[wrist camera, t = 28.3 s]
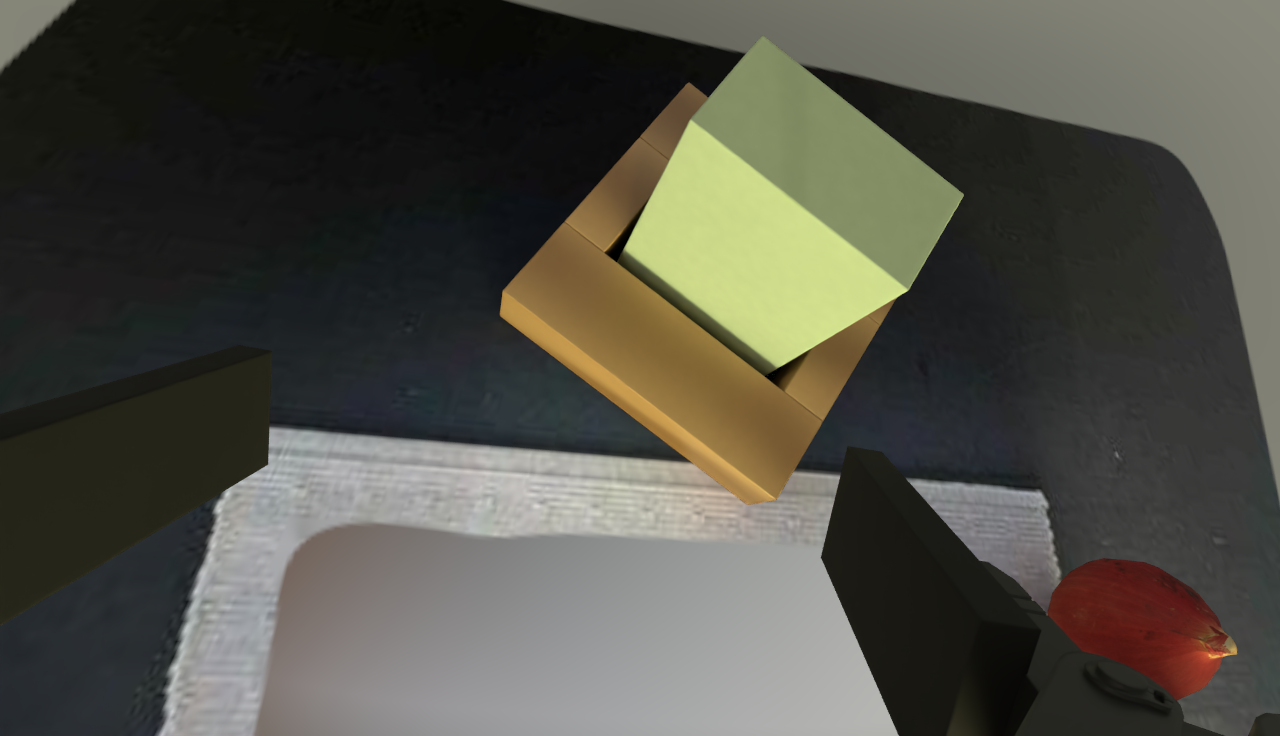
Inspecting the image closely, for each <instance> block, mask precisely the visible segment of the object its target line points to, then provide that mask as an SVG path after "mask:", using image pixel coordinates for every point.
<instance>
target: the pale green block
mask: <svg viewBox="0 0 1280 736" xmlns="http://www.w3.org/2000/svg"><path fill="white" fill-rule="evenodd" d="M963 196H964V195H963V193H961V192H960V191H959V190H958V189H956V188H955V187H954V186H953V185H951V184H950V183H949V182H948V181H946V180H945V179H944V178H942V177H941V176H940V175H939V174H937V173H936V172H935V171H934V170H932V169H931V168H930V167H929V166H927V165H926V164H925V163H924V162H922V161H921V160H920V159H919V158H917V157H916V156H915V155H913V154H912V153H911V152H910V151H908V150H907V149H906V148H905V147H903V146H902V145H901V144H900V143H898V142H897V141H896V140H895V139H893V138H892V137H891V136H889V135H888V134H887V133H886V132H884V131H883V130H882V129H881V128H879V127H878V126H877V125H876V124H874V123H873V122H872V121H871V120H869V119H868V118H867V117H865V116H864V115H863V114H862V113H860V112H859V111H858V110H857V109H855V108H854V107H853V106H852V105H850V104H849V103H848V102H847V101H845V100H844V99H843V98H841V97H840V96H839V95H838V94H836V93H835V92H834V91H833V90H831V89H830V88H829V87H828V86H826V85H825V84H824V83H823V82H821V81H820V80H819V79H818V78H816V77H815V76H814V75H812V74H811V73H810V72H809V71H807V70H806V69H805V68H804V67H802V66H801V65H800V64H799V63H797V62H796V61H795V60H794V59H792V58H791V57H790V56H788V55H787V54H786V53H785V52H783V51H782V50H781V49H780V48H778V47H777V46H776V45H775V44H773V43H772V42H771V41H770V40H768V39H767V38H766V37H764V36H761V37H760V38H759V39H758V40H757V42H756V43H755V44H754V45H753V46H752V47H751V49H750V50H749V51H748V52H747V53H746V54H745V56H744V57H743V58H742V59H741V60H740V61H739V63H738V64H737V65H736V66H735V67H734V68H733V70H732V71H731V72H730V73H729V74H728V75H727V77H726V78H725V79H724V80H723V81H722V82H721V84H720V85H719V86H718V87H717V88H716V90H715V91H714V92H713V93H712V94H711V95H710V97H709V98H708V99H707V100H706V101H705V102H704V104H703V105H702V106H701V107H700V108H699V109H698V111H697V112H696V113H695V114H694V115H693V116H692V118H691V119H690V120H689V122H688V124H687V126H686V128H685V130H684V132H683V134H682V136H681V138H680V140H679V142H678V144H677V146H676V148H675V150H674V151H673V153H672V155H671V157H670V159H669V161H668V163H667V165H666V167H665V169H664V171H663V173H662V175H661V177H660V179H659V181H658V183H657V185H656V187H655V189H654V191H653V193H652V195H651V196H650V198H649V200H648V202H647V204H646V206H645V208H644V210H643V212H642V214H641V216H640V218H639V220H638V222H637V224H636V226H635V228H634V230H633V232H632V234H631V236H630V238H629V240H628V241H627V243H626V245H625V247H624V249H623V251H622V253H621V255H620V257H619V259H618V261H617V263H618V264H619V265H621V266H622V267H623V268H625V269H626V270H627V271H628V272H630V273H631V274H632V275H634V276H635V277H636V278H637V279H639V280H640V281H641V282H643V283H644V284H645V285H647V286H648V287H649V288H650V289H652V290H653V291H654V292H656V293H657V294H658V295H659V296H661V297H662V298H663V299H665V300H666V301H667V302H669V303H670V304H671V305H672V306H674V307H675V308H676V309H678V310H679V311H680V312H681V313H683V314H684V315H685V316H687V317H688V318H689V319H691V320H692V321H693V322H694V323H696V324H697V325H698V326H700V327H701V328H702V329H703V330H705V331H706V332H707V333H709V334H710V335H711V336H713V337H714V338H715V339H716V340H718V341H719V342H720V343H722V344H723V345H724V346H725V347H727V348H728V349H729V350H731V351H732V352H733V353H735V354H736V355H737V356H738V357H740V358H741V359H742V360H744V361H745V362H746V363H747V364H749V365H750V366H751V367H753V368H754V369H755V370H757V371H758V372H759V373H760V374H762V375H763V376H766V375H767V374H769V373H771V372H772V371H774V370H776V369H777V368H779V367H781V366H782V365H784V364H786V363H787V362H789V361H791V360H792V359H794V358H796V357H798V356H799V355H801V354H803V353H804V352H806V351H808V350H809V349H811V348H813V347H814V346H816V345H818V344H819V343H821V342H823V341H824V340H826V339H828V338H829V337H831V336H833V335H834V334H836V333H838V332H839V331H841V330H843V329H845V328H846V327H848V326H850V325H851V324H853V323H855V322H856V321H858V320H860V319H861V318H863V317H865V316H866V315H868V314H870V313H871V312H873V311H875V310H876V309H878V308H880V307H881V306H883V305H885V304H886V303H888V302H890V301H892V300H893V299H895V298H897V297H898V296H900V295H902V294H903V293H905V292H907V291H908V290H909V288H910V287H911V285H912V283H913V282H914V280H915V278H916V276H917V275H918V273H919V271H920V270H921V268H922V266H923V264H924V263H925V261H926V259H927V258H928V256H929V254H930V252H931V251H932V249H933V247H934V246H935V244H936V242H937V241H938V239H939V237H940V235H941V234H942V232H943V230H944V229H945V227H946V225H947V223H948V222H949V220H950V218H951V217H952V215H953V213H954V211H955V210H956V208H957V206H958V205H959V203H960V201H961V199H962V198H963Z"/></svg>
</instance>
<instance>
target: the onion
mask: <svg viewBox="0 0 1280 736" xmlns="http://www.w3.org/2000/svg"><path fill="white" fill-rule="evenodd" d="M1048 616H1049V617H1050V618H1051V619H1052V620H1053V621H1054V622H1055V623H1056V624H1057V625H1058V626H1059V627H1060V628H1061V629H1062V630H1063V631H1064V632H1065V633H1066V634H1067V636H1068V637H1069V638H1070V639H1071V640H1072V641H1073V642H1074V643H1075V644H1076V645H1077V646H1078V647H1079V648H1080V649H1081V650H1082V651H1084V652H1088V653H1093V654H1097V655H1101V656H1105V657H1107V658H1110V659H1112V660H1115V661H1117V662H1120V663H1123V664H1125V665H1127V666H1129V667H1131V668H1133V669H1135V670H1136V671H1138V672H1140V673H1142V674H1144V675H1146V676H1148V677H1149V678H1151V679H1152V680H1153V681H1155V682H1156V683H1157V684H1159V685H1160V686H1161V687H1163V688H1164V689H1166V690H1167V691H1168V692H1169V693H1170V694H1171V695H1172V696H1173V697H1174V699H1175V700H1176V701H1177V700H1179V699H1181V698H1183V697H1185V696H1187V695H1190V694H1192V693H1194V692H1197V691H1199V690H1201V689H1202V688H1203V687H1205V686H1206V685H1207V684H1208V682H1209V681H1210V680H1211V678H1212V677H1213V676H1214V674H1215V673H1216V671H1217V670H1218V668H1219V667H1220V664H1221V660H1222V657H1224V656H1227V655H1232V654H1237V648H1236V645H1235V643H1234V641H1233V639H1232V638H1231V637H1230V636H1229V635H1228V634H1226V633H1225V632H1224V631H1223V629H1222V628H1221V625H1220V622H1219V620H1218V618H1217V616H1216V615H1215V614H1214V613H1213V611H1212V610H1211V609H1210V608H1209V606H1208V605H1207V604H1206V603H1205V602H1204V600H1203V599H1202V598H1201V597H1200V595H1199V594H1198V593H1196V592H1195V591H1194V590H1193V589H1192V588H1191V587H1189V586H1187V585H1186V584H1184V583H1183V582H1181V581H1179V580H1178V579H1176V578H1174V577H1173V576H1171V575H1170V574H1168V573H1166V572H1165V571H1163V570H1162V569H1160V568H1158V567H1155V566H1153V565H1150V564H1148V563H1145V562H1136V561H1128V560H1116V559H1105V558H1103V559H1099V560H1094V561H1090V562H1087V563H1086V564H1084V565H1082V566H1080V567H1078V568H1076V569H1075V570H1073V571H1071V572H1070V573H1069V574H1068V575H1067V576H1066V577H1065V578H1063V579H1062V581H1061V582H1060V583H1059V585H1058V586H1057V588H1056V589H1055V590H1054V592H1053V593H1052V597H1051V601H1050V605H1049V609H1048Z"/></svg>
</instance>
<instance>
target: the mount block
mask: <svg viewBox="0 0 1280 736" xmlns="http://www.w3.org/2000/svg"><path fill="white" fill-rule="evenodd" d="M707 99H708V97H707V96H705V95H704V94H703V93H702V92H700V91H699V90H698V89H696V88H695V87H694V86H693V85H691V84H690V83H687V84H686V85H685V87H684V88H683V89H682V90H681V91H680V92H679V93H678V94H677V96H676V97H675V98H674V99H673V100H672V101H671V102H670V103H669V105H668V106H667V107H666V108H665V109H664V110H663V111H662V112H661V114H660V115H659V116H658V117H657V118H656V119H655V120H654V121H653V122H652V124H651V125H650V126H649V127H648V128H647V129H646V130H645V131H644V133H643V134H642V135H641V136H640V138H638V139H637V141H636V142H635V143H634V144H633V145H632V146H631V147H630V148H629V150H628V151H627V152H626V153H625V154H624V155H623V156H622V157H621V159H620V160H619V161H618V162H617V163H616V164H615V165H614V166H613V168H612V169H611V170H610V171H609V172H608V173H607V174H606V175H605V176H604V178H603V179H602V180H601V181H600V182H599V183H598V184H597V185H596V187H595V188H594V189H593V190H592V191H591V192H590V193H589V194H588V196H587V197H586V198H585V199H584V200H583V201H582V202H581V203H580V205H579V206H578V207H577V208H576V209H575V210H574V211H573V212H572V214H571V215H570V216H569V217H568V218H567V219H566V220H565V222H564V223H563V224H562V225H561V226H560V227H559V228H558V229H557V230H556V231H555V233H554V234H553V235H552V236H551V237H550V238H549V239H548V240H547V242H546V243H545V244H544V245H543V246H542V247H541V248H540V249H539V250H538V252H537V253H536V254H535V255H534V256H533V257H532V258H531V259H530V261H529V262H528V263H527V264H526V265H525V266H524V267H523V268H522V270H521V271H520V272H519V273H518V274H517V275H516V276H515V277H514V279H513V280H512V281H511V282H510V283H509V284H508V285H507V286H506V288H505V289H504V290H503V293H502V301H501V308H500V316H501V317H502V318H503V319H505V320H506V321H507V322H509V323H510V324H511V325H512V326H514V327H515V328H516V329H518V330H519V331H520V332H522V333H523V334H524V335H526V336H527V337H528V338H530V339H531V340H532V341H533V342H535V343H536V344H537V345H539V346H540V347H541V348H543V349H544V350H545V351H547V352H548V353H549V354H550V355H552V356H553V357H554V358H556V359H557V360H558V361H560V362H561V363H562V364H564V365H565V366H566V367H568V368H569V369H570V370H571V371H573V372H574V373H575V374H577V375H578V376H579V377H581V378H582V379H583V380H585V381H586V382H587V383H588V384H590V385H591V386H592V387H594V388H595V389H596V390H598V391H599V392H600V393H602V394H603V395H604V396H606V397H607V398H608V399H609V400H611V401H612V402H613V403H615V404H616V405H617V406H619V407H620V408H621V409H623V410H624V411H625V412H626V413H628V414H629V415H630V416H632V417H633V418H634V419H636V420H637V421H638V422H640V423H641V424H642V425H644V426H645V427H646V428H647V429H649V430H650V431H651V432H653V433H654V434H655V435H657V436H658V437H659V438H661V439H662V440H663V441H664V442H666V443H667V444H668V445H670V446H671V447H672V448H674V449H675V450H676V451H678V452H679V453H680V454H682V455H683V456H684V457H685V458H687V459H688V460H689V461H691V462H692V463H693V464H695V465H696V466H697V467H699V468H700V469H701V470H702V471H704V472H705V473H706V474H708V475H709V476H710V477H712V478H713V479H714V480H716V481H717V482H718V483H719V484H721V485H722V486H723V487H725V488H726V489H727V490H729V491H730V492H731V493H733V494H734V495H735V496H737V497H738V498H739V499H740V500H742V501H743V502H744V503H746V504H747V505H751V504H756V503H762V502H768V501H774V500H777V498H778V496H779V495H780V493H781V491H782V490H783V488H784V486H785V485H786V483H787V481H788V480H789V478H790V476H791V475H792V473H793V471H794V470H795V468H796V466H797V464H798V463H799V461H800V459H801V458H802V456H803V454H804V453H805V451H806V449H807V448H808V446H809V444H810V443H811V441H812V439H813V438H814V436H815V434H816V433H817V431H818V429H819V427H820V426H821V424H822V421H823V420H824V419H825V417H826V415H827V414H828V412H829V410H830V409H831V407H832V405H833V404H834V402H835V400H836V399H837V397H838V395H839V394H840V392H841V390H842V389H843V387H844V385H845V383H846V382H847V380H848V378H849V377H850V375H851V373H852V372H853V370H854V368H855V367H856V365H857V363H858V362H859V360H860V358H861V357H862V355H863V353H864V352H865V350H866V348H867V346H868V345H869V343H870V341H871V340H872V338H873V336H874V335H875V333H876V331H877V330H878V328H879V325H881V323H882V322H883V320H884V318H885V317H886V315H887V313H888V312H889V310H890V308H891V306H892V305H893V303H894V301H895V300H896V298H895V299H893V300H892V301H890V302H888V303H886V304H885V305H883V306H881V307H880V308H878V309H876V310H875V311H873V312H871V313H870V314H868V315H866V316H865V317H863V318H861V319H860V320H858V321H856V322H855V323H853V324H851V325H850V326H848V327H846V328H845V329H843V330H841V331H839V332H838V333H836V334H834V335H833V336H831V337H829V338H828V339H826V340H824V341H823V342H821V343H819V344H818V345H816V346H814V347H813V348H811V349H809V350H808V351H806V352H804V353H803V354H801V355H799V356H798V357H796V358H794V359H792V360H791V361H789V362H787V363H786V364H784V365H783V366H782V367H781V369H780V370H779V372H778V373H777V375H776V376H775V378H774V380H773V381H772V382H771V381H769V380H768V379H767V378H766V377H764V376H763V375H762V374H760V373H759V372H758V371H757V370H755V369H754V368H753V367H751V366H750V365H749V364H747V363H746V362H745V361H744V360H742V359H741V358H740V357H738V356H737V355H736V354H735V353H733V352H732V351H731V350H729V349H728V348H727V347H725V346H724V345H723V344H722V343H720V342H719V341H718V340H716V339H715V338H714V337H713V336H711V335H710V334H709V333H707V332H706V331H705V330H703V329H702V328H701V327H700V326H698V325H697V324H696V323H694V322H693V321H692V320H691V319H689V318H688V317H687V316H685V315H684V314H683V313H681V312H680V311H679V310H678V309H676V308H675V307H674V306H672V305H671V304H670V303H669V302H667V301H666V300H665V299H663V298H662V297H661V296H659V295H658V294H657V293H656V292H654V291H653V290H652V289H650V288H649V287H648V286H647V285H645V284H644V283H643V282H641V281H640V280H639V279H637V278H636V277H635V276H634V275H632V274H631V273H630V272H628V271H627V270H626V269H625V268H623V267H622V266H621V265H619V264H618V263H617V262H615V261H614V260H613V259H612V258H610V257H611V256H612V255H613V254H614V253H615V251H616V250H617V249H618V248H619V247H620V245H621V244H622V243H623V242H624V241H625V239H626V238H627V237H628V236H629V234H630V233H631V232H632V231H633V230H634V228H635V226H636V224H637V222H638V220H639V218H640V216H641V214H642V212H643V210H644V208H645V206H646V204H647V202H648V200H649V198H650V196H651V195H652V193H653V191H654V189H655V187H656V185H657V183H658V181H659V179H660V177H661V175H662V173H663V171H664V169H665V167H666V165H667V163H668V161H669V159H670V157H671V155H672V153H673V151H674V150H675V148H676V146H677V144H678V142H679V140H680V138H681V136H682V134H683V132H684V130H685V128H686V126H687V124H688V122H689V120H690V119H691V118H692V116H693V115H694V114H695V113H696V112H697V111H698V109H699V108H700V107H701V106H702V105H703V104H704V102H705V101H706V100H707Z"/></svg>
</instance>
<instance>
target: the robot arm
mask: <svg viewBox="0 0 1280 736" xmlns="http://www.w3.org/2000/svg"><path fill="white" fill-rule="evenodd" d="M271 363H272V351H270V350H264V349H258V348H252V347H246V346H240V345H238V346H235V347H231V348H228V349H224V350H221V351H217V352H214V353H211V354H207V355H204V356H200V357H197V358H193V359H190V360H186V361H183V362H179V363H176V364H172V365H169V366H165V367H162V368H158V369H155V370H152V371H148V372H145V373H141V374H138V375H134V376H131V377H127V378H124V379H120V380H117V381H113V382H110V383H106V384H103V385H100V386H96V387H93V388H89V389H86V390H82V391H79V392H75V393H72V394H68V395H65V396H61V397H58V398H54V399H51V400H48V401H44V402H41V403H37V404H34V405H30V406H27V407H23V408H20V409H16V410H13V411H9V412H6V413H2V414H0V626H1V625H2V624H4V623H6V622H7V621H9V620H11V619H12V618H14V617H16V616H17V615H19V614H21V613H22V612H24V611H26V610H27V609H29V608H31V607H32V606H34V605H36V604H37V603H39V602H41V601H42V600H44V599H46V598H47V597H49V596H51V595H52V594H54V593H56V592H57V591H59V590H61V589H62V588H64V587H65V586H67V585H69V584H70V583H72V582H74V581H75V580H77V579H79V578H80V577H82V576H84V575H85V574H87V573H89V572H90V571H92V570H94V569H95V568H97V567H99V566H100V565H102V564H104V563H105V562H107V561H109V560H110V559H112V558H114V557H115V556H117V555H119V554H120V553H122V552H124V551H125V550H127V549H129V548H130V547H132V546H134V545H135V544H137V543H138V542H140V541H142V540H143V539H145V538H147V537H148V536H150V535H152V534H153V533H155V532H157V531H158V530H160V529H162V528H163V527H165V526H167V525H168V524H170V523H172V522H173V521H175V520H177V519H178V518H180V517H182V516H183V515H185V514H187V513H188V512H190V511H192V510H193V509H195V508H197V507H198V506H200V505H202V504H203V503H205V502H207V501H208V500H210V499H211V498H213V497H215V496H216V495H218V494H220V493H221V492H223V491H225V490H226V489H228V488H230V487H231V486H233V485H235V484H236V483H238V482H240V481H241V480H243V479H245V478H246V477H248V476H250V475H251V474H253V473H255V472H256V471H258V470H260V469H261V468H263V467H265V466H266V465H268V450H269V421H270V392H271ZM821 559H822V561H823V563H824V565H825V567H826V570H827V572H828V574H829V577H830V579H831V581H832V584H833V586H834V588H835V591H836V593H837V595H838V598H839V600H840V602H841V604H842V607H843V609H844V611H845V613H846V616H847V618H848V620H849V623H850V625H851V627H852V630H853V632H854V634H855V636H856V639H857V641H858V643H859V646H860V648H861V650H862V652H863V655H864V657H865V659H866V661H867V664H868V666H869V668H870V671H871V673H872V675H873V677H874V680H875V682H876V684H877V687H878V689H879V691H880V694H881V696H882V698H883V701H884V703H885V705H886V707H887V710H888V712H889V714H890V716H891V719H892V721H893V723H894V726H895V728H896V730H897V733H898V735H899V736H1224V735H1221V734H1218V733H1215V732H1212V731H1209V730H1206V729H1203V728H1200V727H1198V726H1195V725H1192V724H1189V723H1186V722H1184V721H1183V719H1184V716H1183V712H1182V709H1181V706H1180V704H1179V703H1178V702H1177V701H1176V700H1175V699H1174V697H1173V696H1172V695H1171V694H1170V693H1169V692H1168V691H1167V690H1166V689H1164V688H1163V687H1161V686H1160V685H1159V684H1157V683H1156V682H1155V681H1153V680H1152V679H1151V678H1149V677H1148V676H1146V675H1144V674H1142V673H1140V672H1138V671H1136V670H1135V669H1133V668H1131V667H1129V666H1127V665H1125V664H1123V663H1120V662H1117V661H1115V660H1112V659H1110V658H1107V657H1105V656H1101V655H1097V654H1093V653H1088V652H1084V651H1082V650H1081V649H1080V648H1079V647H1078V646H1077V645H1076V644H1075V643H1074V642H1073V641H1072V640H1071V639H1070V638H1069V637H1068V636H1067V634H1066V633H1065V632H1064V631H1063V630H1062V629H1061V628H1060V627H1059V626H1058V625H1057V624H1056V623H1055V622H1054V621H1053V620H1052V619H1051V618H1050V617H1049V616H1046V612H1045V611H1044V610H1043V609H1042V608H1041V607H1040V606H1039V605H1038V604H1037V603H1036V602H1035V601H1032V600H1031V596H1030V595H1029V594H1028V593H1027V592H1026V591H1025V590H1024V589H1023V588H1022V587H1021V586H1020V585H1019V584H1018V583H1017V582H1016V581H1015V580H1014V579H1013V578H1011V577H1010V576H1008V575H1007V574H1005V573H1004V572H1002V571H1001V570H999V569H998V568H996V567H995V566H993V565H992V564H990V563H989V562H983V561H979V560H978V559H977V558H976V557H975V555H974V554H973V553H972V552H971V551H970V550H969V549H968V548H967V546H966V545H965V544H964V543H963V542H962V541H961V540H960V539H959V538H958V536H957V535H956V534H955V533H954V532H953V531H952V530H951V529H950V528H949V526H948V525H947V524H946V523H945V522H944V521H943V520H942V519H941V518H940V516H939V515H938V514H937V513H936V512H935V511H934V510H933V509H932V507H931V506H930V505H929V504H928V503H927V502H926V501H925V500H924V499H923V497H922V496H921V495H920V494H919V493H918V492H917V491H916V490H915V489H914V487H913V486H912V485H911V484H910V483H909V482H908V481H907V480H906V478H905V477H904V476H903V475H902V474H901V473H900V472H899V471H898V470H897V468H896V467H895V466H894V465H893V464H892V463H891V462H890V461H889V460H888V458H887V457H886V456H885V455H884V454H883V453H882V452H879V451H873V450H867V449H861V448H855V447H849V446H848V447H847V451H846V455H845V459H844V463H843V468H842V472H841V476H840V480H839V484H838V488H837V493H836V497H835V501H834V505H833V509H832V513H831V518H830V522H829V526H828V530H827V534H826V538H825V543H824V547H823V551H822V556H821ZM1248 736H1280V714H1271V713H1264V714H1262V715H1260V716H1258V717H1256V719H1255V721H1254V724H1253V726H1252V728H1251V731H1250V733H1249V735H1248Z"/></svg>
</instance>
